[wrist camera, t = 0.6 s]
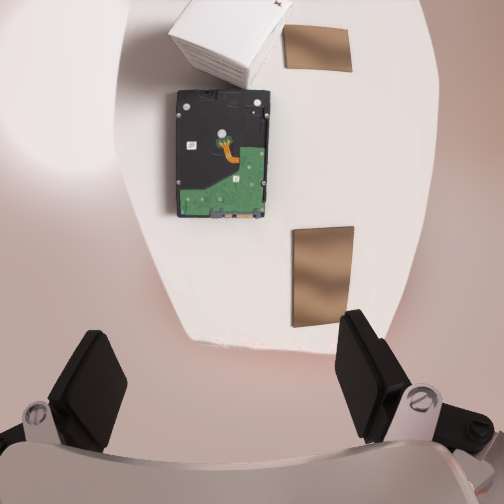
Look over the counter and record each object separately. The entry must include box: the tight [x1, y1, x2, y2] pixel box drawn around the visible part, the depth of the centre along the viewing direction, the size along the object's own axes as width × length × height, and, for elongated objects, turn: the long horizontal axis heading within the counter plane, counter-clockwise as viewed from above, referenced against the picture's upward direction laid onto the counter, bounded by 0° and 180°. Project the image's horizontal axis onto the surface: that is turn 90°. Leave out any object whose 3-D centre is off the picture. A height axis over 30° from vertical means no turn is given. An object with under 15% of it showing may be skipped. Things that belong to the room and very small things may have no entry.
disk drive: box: [176, 89, 270, 219], centre depth 31 cm, size 10×3×15 cm
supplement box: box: [168, 0, 293, 90], centre depth 22 cm, size 7×7×13 cm
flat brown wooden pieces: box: [283, 25, 354, 328], centre depth 34 cm, size 41×8×1 cm, turn 3°
